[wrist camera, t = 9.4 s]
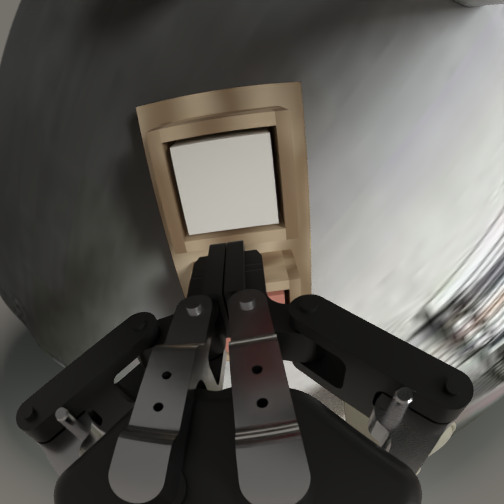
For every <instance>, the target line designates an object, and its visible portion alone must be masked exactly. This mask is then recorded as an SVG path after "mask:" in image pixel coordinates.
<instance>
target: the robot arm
mask: <svg viewBox="0 0 504 504" xmlns="http://www.w3.org/2000/svg"><path fill="white" fill-rule="evenodd" d="M454 1H456V2H458V3H460V4H462V5H464V6H469V7H474V6H483V5H494V4H504V0H454ZM226 338H230V339H231V342H229V344H228V345H229V360H230V373H231V385H232V387H231V388H227V389H224V390H223V381H224V373H225V365H226V357H227V351H226ZM136 358H138V360H139V362H140V364H139V365H137V366H136V367H135V368H134V369H133V370H132V371H131V372H129V373H128V374H127V375H126V376H125V377H124V378H122V379H121V380H120V381H119V382H118V383H116V384H114V378H115V376H116V375H117V374H118V373H119V372H120V371H122V370H123V369H124V368H125V367H126V366H127V365H129V364H130V363H131V362H132V361H133V360H135V359H136ZM283 360H287V361H292V362H293V364H294V366H295V367H296V368H297V369H299V370H300V371H302V372H303V373H304V374H306V375H307V376H308V377H310V378H311V379H313V380H314V381H315V382H317V383H318V384H320V385H321V386H323V387H324V388H325V389H327V390H328V391H330V392H331V393H333V394H334V395H335V396H337V397H338V398H340V399H341V400H343V401H344V402H346V403H347V404H349V405H350V406H352V407H353V408H355V409H356V410H358V411H359V412H361V413H362V414H364V415H365V416H367V417H368V418H369V421H368V429H369V432H370V434H371V435H372V437H373V438H374V439H376V440H377V441H378V443H379V444H380V446H381V447H380V446H379V445H377V444H376V443H374V442H373V441H372V440H370V439H369V438H367V437H366V436H365V435H363V434H362V433H361V432H359V431H358V430H356V429H355V428H354V427H352V426H351V425H350V424H348V423H347V422H346V421H344V420H343V419H342V418H340V417H339V416H338V415H337V414H335V413H334V412H333V411H331V410H330V409H329V408H327V407H326V406H325V405H324V404H322V403H321V402H320V401H318V400H317V399H316V398H314V397H312V396H311V395H309V394H307V393H304V392H302V391H299V390H296V389H291V388H289V385H288V381H287V377H286V373H285V368H284V364H283ZM473 391H474V390H473V384H472V382H471V380H470V378H469V377H468V376H467V375H466V374H465V373H463V372H462V371H460V370H458V369H456V368H454V367H452V366H450V365H448V364H446V363H445V362H443V361H441V360H439V359H437V358H435V357H433V356H431V355H429V354H427V353H426V352H424V351H422V350H420V349H418V348H416V347H414V346H412V345H411V344H409V343H407V342H405V341H403V340H401V339H399V338H397V337H395V336H394V335H392V334H390V333H388V332H386V331H384V330H382V329H380V328H379V327H377V326H375V325H373V324H371V323H369V322H367V321H365V320H364V319H362V318H360V317H358V316H356V315H354V314H352V313H351V312H349V311H347V310H345V309H343V308H341V307H339V306H337V305H336V304H334V303H332V302H330V301H328V300H326V299H324V298H323V297H320V296H318V295H312V294H307V295H302V296H299V297H297V298H295V299H294V300H292V302H291V303H290V304H282V303H278V302H275V301H273V300H271V299H270V298H269V297H268V295H267V291H266V282H265V275H264V267H263V260H262V255H261V254H260V253H259V252H258V251H257V250H248V251H245V245H244V241H243V240H240V241H232V242H227V243H226V242H225V243H218V244H211V245H210V246H209V252H208V256H203V257H199V258H198V260H197V261H196V262H195V263H194V265H193V270H192V274H191V279H190V284H189V288H188V293H187V298H185V299H183V300H182V301H181V302H180V303H179V304H178V305H177V307H176V310H175V313H174V314H173V315H171V316H168V317H165V318H162V319H159V320H156V318H155V316H154V315H153V314H151V313H148V312H140V313H136V314H134V315H132V316H130V317H129V318H128V319H126V320H125V321H124V322H123V323H121V324H120V325H119V326H117V327H116V328H115V329H114V330H112V331H111V332H110V333H109V334H107V335H106V336H105V337H104V338H102V339H101V340H100V341H98V342H97V343H96V344H95V345H93V346H92V347H91V348H90V349H88V350H87V351H86V352H85V353H83V354H82V355H81V356H80V357H78V358H77V359H76V360H75V361H73V362H72V363H71V364H70V365H69V366H67V367H66V368H65V369H64V370H62V371H61V372H60V373H59V374H57V375H56V376H55V377H54V378H53V379H52V380H50V381H49V382H48V383H46V384H45V385H44V386H43V387H42V388H40V389H39V390H38V391H37V392H36V393H35V394H33V395H32V396H31V397H30V398H28V399H27V400H26V401H25V402H24V403H23V404H22V405H21V406H20V408H19V409H18V411H17V415H16V421H17V424H18V426H19V428H20V429H22V430H23V431H24V432H25V433H26V434H28V435H29V436H30V437H31V438H33V440H34V441H35V442H36V443H38V444H39V445H40V446H41V447H42V449H43V451H44V453H45V455H46V456H47V458H48V460H49V461H50V463H51V465H52V466H53V468H54V470H55V471H56V473H57V474H58V476H59V479H58V480H57V482H56V486H55V490H54V502H55V504H421V500H422V490H421V485H420V482H419V480H418V477H417V476H416V473H417V472H418V470H419V469H420V468H421V466H422V465H423V463H424V462H425V460H426V459H427V457H428V456H429V454H430V453H431V451H432V450H433V448H434V447H435V445H436V444H437V442H438V441H439V439H440V437H441V436H442V434H443V433H444V432H445V431H446V430H447V429H448V428H449V426H450V425H451V424H452V423H453V422H454V421H455V419H456V418H457V417H458V416H459V415H460V413H461V412H462V411H463V410H464V409H465V407H466V406H467V405H468V403H469V402H470V401H471V399H472V397H473Z"/></svg>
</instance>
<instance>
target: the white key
mask: <svg viewBox="0 0 504 504" xmlns="http://www.w3.org/2000/svg"><path fill="white" fill-rule="evenodd" d="M170 152H171V157H172V162H173V167H174V171H175V176H176V181H177V185H178V190H179V194H180V199H181V203H182V208H183V212H184V216H185V220H186V225H187V229H188V233H189V235H194V234H201V233H208V232H215V231H223V230H230V229H238V228H245V227H253V226H261V225H269V224H276V223H279V221H278V210H277V199H276V189H275V179H274V168H273V159H272V149H271V140H270V133H269V131H268V130H267V128H266V127H264V128H255V129H247V130H239V131H232V132H225V133H218V134H212V135H206V136H200V137H194V138H189V139H183V140H178V141H177V142H175V143H174V144H173V145H172V146H171V147H170Z"/></svg>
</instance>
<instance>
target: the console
mask: <svg viewBox="0 0 504 504" xmlns="http://www.w3.org/2000/svg"><path fill="white" fill-rule="evenodd" d="M136 110H137V115H138V120H139V125H140V130H141V135H142V140H143V145H144V149H145V154H146V158H147V163H148V167H149V171H150V176H151V180H152V184H153V188H154V192H155V196H156V200H157V204H158V208H159V211H160V215H161V219H162V223H163V226H164V230H165V233H166V237H167V241H168V244H169V248H170V251H171V254H172V258H173V261H174V264H175V268H176V271H177V274H178V278H179V281H180V284H181V287H182V290H183V293H184V296H185V298H187V293H188V288H189V284H190V279H191V274H192V270H193V265H194V263H195V262H196V261H197V260H198V258H199V257H203V256H208V252H209V246H210V245H211V244H218V243H225V242H226V243H227V242H232V241H240V240H243V241H244V245H245V251H248V250H257V251H258V252H259V253H260V254H261V255H262V260H263V267H264V275H265V282H266V291H267V292H272V291H279V290H284V296H285V304H290V303H291V302H292V300H294V299H295V298H297V297H299V296H302V295H307V294H311V235H310V206H309V184H308V166H307V151H306V137H305V124H304V113H303V102H302V91H301V82H287V83H274V84H263V85H253V86H244V87H236V88H229V89H222V90H215V91H209V92H203V93H198V94H192V95H187V96H182V97H177V98H173V99H168V100H164V101H159V102H155V103H151V104H147V105H143V106H139V107H136ZM264 127H266V128H267V130H268V131H269V133H270V140H271V149H272V159H273V168H274V179H275V189H276V199H277V210H278V221H279V223H276V224H269V225H261V226H253V227H245V228H238V229H230V230H223V231H215V232H208V233H201V234H194V235H189V233H188V229H187V225H186V220H185V216H184V212H183V208H182V203H181V199H180V194H179V190H178V185H177V181H176V176H175V171H174V167H173V162H172V157H171V152H170V147H171V146H172V145H173V144H174V143H175V142H177V141H178V140H183V139H189V138H194V137H200V136H206V135H212V134H218V133H225V132H232V131H239V130H247V129H255V128H264ZM226 361H230V360H229V352H227V357H226Z"/></svg>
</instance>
